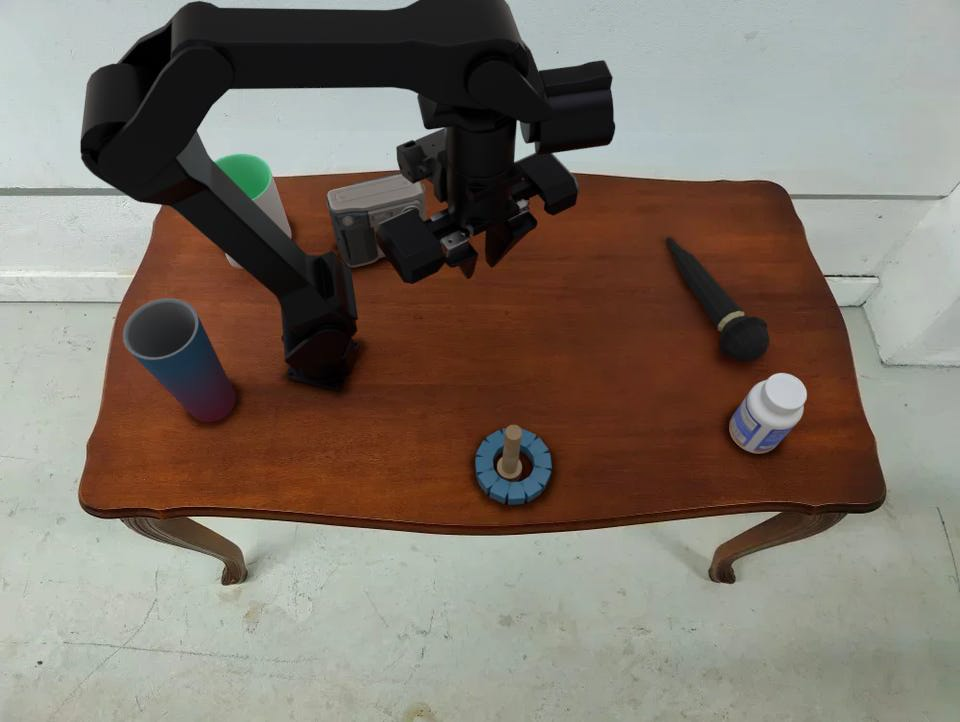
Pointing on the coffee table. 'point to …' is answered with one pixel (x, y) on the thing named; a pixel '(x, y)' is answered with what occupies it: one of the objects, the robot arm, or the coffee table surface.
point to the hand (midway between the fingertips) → (478, 269)
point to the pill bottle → (768, 413)
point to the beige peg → (511, 455)
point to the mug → (256, 187)
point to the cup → (180, 357)
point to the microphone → (723, 310)
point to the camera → (370, 214)
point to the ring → (506, 489)
